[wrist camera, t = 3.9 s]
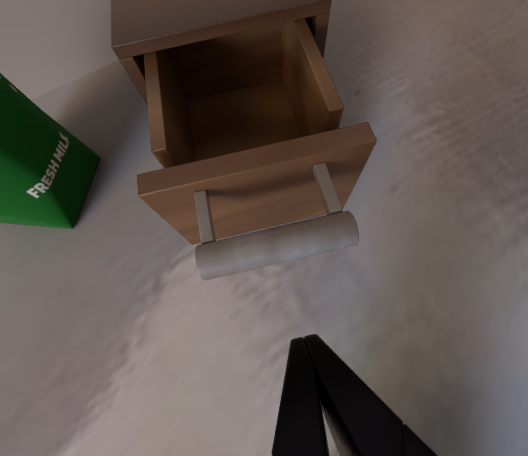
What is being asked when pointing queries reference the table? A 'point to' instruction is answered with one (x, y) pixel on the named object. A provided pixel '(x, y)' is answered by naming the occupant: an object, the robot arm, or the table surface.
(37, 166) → the milk carton
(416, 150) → the table surface
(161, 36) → the cabinet
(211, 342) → the table surface
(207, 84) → the drawer
